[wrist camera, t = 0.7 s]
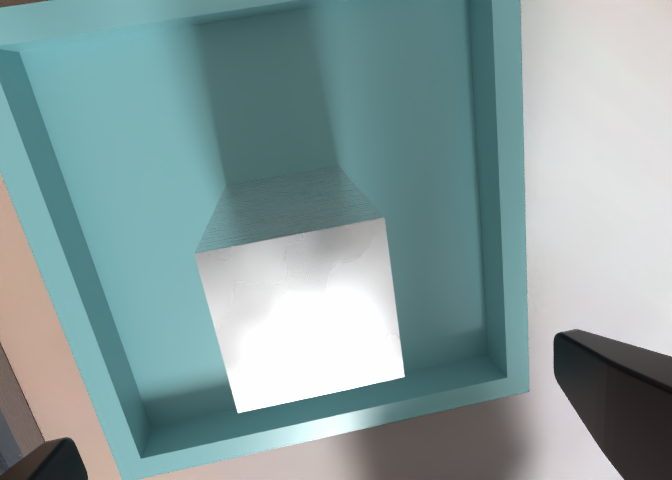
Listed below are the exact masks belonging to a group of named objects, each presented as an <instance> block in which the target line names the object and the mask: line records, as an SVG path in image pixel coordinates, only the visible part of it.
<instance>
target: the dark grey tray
mask: <svg viewBox="0 0 672 480" xmlns="http://www.w3.org/2000/svg"><path fill="white" fill-rule="evenodd" d="M42 443H44V440H43V438H42V435H41V433H40V431H39V429H38V426H37V424H36V422H35V420H34V418H33V415H32V413H31V411H30V409H29V407H28V404H27V402H26V400H25V398H24V396H23V393H22V391H21V389H20V387H19V385H18V382H17V380H16V378H15V376H14V373H13V371H12V369H11V367H10V365H9V362H8V360H7V358H6V356H5V354H4V351H3V349H2V347H1V345H0V475H1V474H3V473H4V472H5V471H7V470H8V469H9V468H11V467H12V466H13V465H15V464H16V463H17V462H19V461H20V460H21V459H22V458H24V457H25V456H26V455H28V454H29V453H30V452H32V451H33V450H34V449H36V448H37V447H38V446H40V445H41V444H42Z"/></svg>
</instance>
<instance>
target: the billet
mask: <svg viewBox="0 0 672 480" xmlns="http://www.w3.org/2000/svg"><path fill="white" fill-rule="evenodd" d="M194 255H195V259H196V263H197V266H198V270H199V274H200V277H201V281H202V284H203V288H204V292H205V295H206V299H207V303H208V306H209V310H210V314H211V317H212V321H213V325H214V328H215V332H216V335H217V339H218V343H219V346H220V350H221V354H222V357H223V361H224V365H225V368H226V372H227V375H228V379H229V383H230V386H231V390H232V394H233V397H234V401H235V405H236V408H237V412H238V413H240V412H245V411H250V410H254V409H259V408H263V407H268V406H273V405H277V404H282V403H286V402H291V401H296V400H300V399H305V398H310V397H314V396H319V395H323V394H328V393H333V392H337V391H342V390H346V389H351V388H356V387H360V386H365V385H369V384H374V383H379V382H383V381H388V380H392V379H397V378H402V377H405V375H404V367H403V359H402V351H401V343H400V335H399V327H398V320H397V312H396V304H395V296H394V288H393V280H392V272H391V264H390V256H389V248H388V241H387V233H386V225H385V218H384V216H383V215H382V214H381V213H380V212H379V211H378V210H377V208H376V207H375V206H374V205H373V204H372V203H371V202H370V200H369V199H368V198H367V197H366V196H365V195H364V194H363V192H362V191H361V190H360V189H359V188H358V187H357V186H356V184H355V183H354V182H353V181H352V180H351V179H350V178H349V176H348V175H347V174H346V173H345V172H344V171H343V170H342V168H341V167H340V166H339V165H336V166H330V167H325V168H319V169H313V170H308V171H302V172H297V173H291V174H286V175H280V176H274V177H269V178H263V179H258V180H252V181H247V182H241V183H236V184H230V185H226V186H225V188H224V190H223V193H222V195H221V197H220V199H219V201H218V203H217V205H216V208H215V210H214V212H213V214H212V216H211V218H210V221H209V223H208V225H207V227H206V229H205V231H204V234H203V236H202V238H201V240H200V242H199V244H198V247H197V249H196V251H195V253H194Z"/></svg>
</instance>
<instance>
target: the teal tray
mask: <svg viewBox="0 0 672 480" xmlns="http://www.w3.org/2000/svg"><path fill="white" fill-rule="evenodd" d="M336 165H339V166H340V167H341V168H342V170H343V171H344V172H345V173H346V174H347V175H348V176H349V178H350V179H351V180H352V181H353V182H354V183H355V184H356V186H357V187H358V188H359V189H360V190H361V191H362V192H363V194H364V195H365V196H366V197H367V198H368V199H369V200H370V202H371V203H372V204H373V205H374V206H375V207H376V208H377V210H378V211H379V212H380V213H381V214H382V215H383V216H384V218H385V225H386V233H387V241H388V248H389V256H390V264H391V272H392V280H393V288H394V296H395V304H396V312H397V320H398V327H399V335H400V343H401V351H402V359H403V367H404V375H405V377H402V378H397V379H392V380H388V381H383V382H379V383H374V384H369V385H365V386H360V387H356V388H351V389H346V390H342V391H337V392H333V393H328V394H323V395H319V396H314V397H310V398H305V399H300V400H296V401H291V402H286V403H282V404H277V405H273V406H268V407H263V408H259V409H254V410H250V411H245V412H240V413H238V412H237V408H236V405H235V401H234V397H233V394H232V390H231V386H230V383H229V379H228V375H227V372H226V368H225V365H224V361H223V357H222V354H221V350H220V346H219V343H218V339H217V335H216V332H215V328H214V325H213V321H212V317H211V314H210V310H209V306H208V303H207V299H206V295H205V292H204V288H203V284H202V281H201V277H200V274H199V270H198V266H197V263H196V259H195V255H194V253H195V251H196V249H197V247H198V244H199V242H200V240H201V238H202V236H203V234H204V231H205V229H206V227H207V225H208V223H209V221H210V218H211V216H212V214H213V212H214V210H215V208H216V205H217V203H218V201H219V199H220V197H221V195H222V193H223V190H224V188H225V186H226V185H230V184H236V183H241V182H247V181H252V180H258V179H263V178H269V177H274V176H280V175H286V174H291V173H297V172H302V171H308V170H313V169H319V168H325V167H330V166H336ZM0 173H1V175H2V178H3V180H4V183H5V185H6V188H7V190H8V193H9V195H10V198H11V200H12V203H13V205H14V208H15V210H16V213H17V215H18V218H19V220H20V223H21V225H22V228H23V230H24V233H25V236H26V238H27V241H28V243H29V246H30V248H31V251H32V253H33V256H34V258H35V261H36V263H37V266H38V268H39V271H40V273H41V276H42V278H43V281H44V283H45V286H46V288H47V291H48V293H49V296H50V299H51V301H52V304H53V306H54V309H55V311H56V314H57V316H58V319H59V321H60V324H61V326H62V329H63V331H64V334H65V336H66V339H67V341H68V344H69V346H70V349H71V351H72V354H73V356H74V359H75V362H76V364H77V367H78V369H79V372H80V374H81V377H82V379H83V382H84V384H85V387H86V389H87V392H88V394H89V397H90V399H91V402H92V404H93V407H94V409H95V412H96V414H97V417H98V419H99V422H100V425H101V427H102V430H103V432H104V435H105V437H106V440H107V442H108V445H109V447H110V450H111V452H112V455H113V457H114V460H115V462H116V465H117V467H118V470H119V472H120V475H121V477H122V480H138V479H142V478H147V477H151V476H155V475H160V474H164V473H169V472H173V471H178V470H182V469H187V468H191V467H196V466H200V465H205V464H209V463H213V462H218V461H222V460H227V459H231V458H236V457H240V456H245V455H249V454H254V453H258V452H262V451H267V450H271V449H276V448H280V447H285V446H289V445H294V444H298V443H303V442H307V441H311V440H316V439H320V438H325V437H329V436H334V435H338V434H343V433H347V432H352V431H356V430H360V429H365V428H369V427H374V426H378V425H383V424H387V423H392V422H396V421H401V420H405V419H410V418H414V417H418V416H423V415H427V414H432V413H436V412H441V411H445V410H450V409H454V408H459V407H463V406H467V405H472V404H476V403H481V402H485V401H490V400H494V399H499V398H503V397H508V396H512V395H516V394H521V393H525V392H529V357H528V313H527V270H526V226H525V183H524V139H523V95H522V52H521V8H520V0H49V1H42V2H35V3H29V4H22V5H15V6H8V7H1V8H0Z"/></svg>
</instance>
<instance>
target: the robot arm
mask: <svg viewBox="0 0 672 480" xmlns="http://www.w3.org/2000/svg"><path fill="white" fill-rule="evenodd" d="M554 374H555V378H556V380H557V382H558V384H559V386H560V387H561V389H562V390H563V392H564V393H565V395H566V396H567V398H568V400H569V401H570V403H571V404H572V406H573V407H574V409H575V410H576V412H577V414H578V415H579V417H580V418H581V420H582V421H583V423H584V424H585V426H586V427H587V429H588V431H589V432H590V434H591V435H592V437H593V438H594V440H595V441H596V443H597V444H598V446H599V447H600V449H601V450H602V452H603V453H604V454H605V456H606V457H607V458H608V460H609V461H610V462H611V463H612V465H613V466H614V467H615V469H616V470H617V471H618V472H619V474H620V475H621V476H622V477H623V479H624V480H672V357H671V356H668V355H664V354H661V353H657V352H654V351H651V350H647V349H644V348H640V347H637V346H633V345H630V344H627V343H623V342H620V341H616V340H613V339H610V338H606V337H603V336H599V335H596V334H592V333H589V332H586V331H582V330H578V329H574V330H569V331H565V332H560V333H557V334H556V335H555V337H554ZM0 480H88V475H87V471H86V468H85V466H84V464H83V461H82V459H81V457H80V454H79V452H78V449H77V447H76V445H75V443H74V441H73V440H72V439H71V438H68V437H65V438H60V439H56V440H51V441H47V442H44V443H42V444H41V445H40V446H38V447H37V448H36V449H34V450H33V451H32V452H30V453H29V454H28V455H26V456H25V457H24V458H22V459H21V460H20V461H19V462H17V463H16V464H15V465H13V466H12V467H11V468H9V469H8V470H7V471H5V472H4V473H3V474H1V475H0Z"/></svg>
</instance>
